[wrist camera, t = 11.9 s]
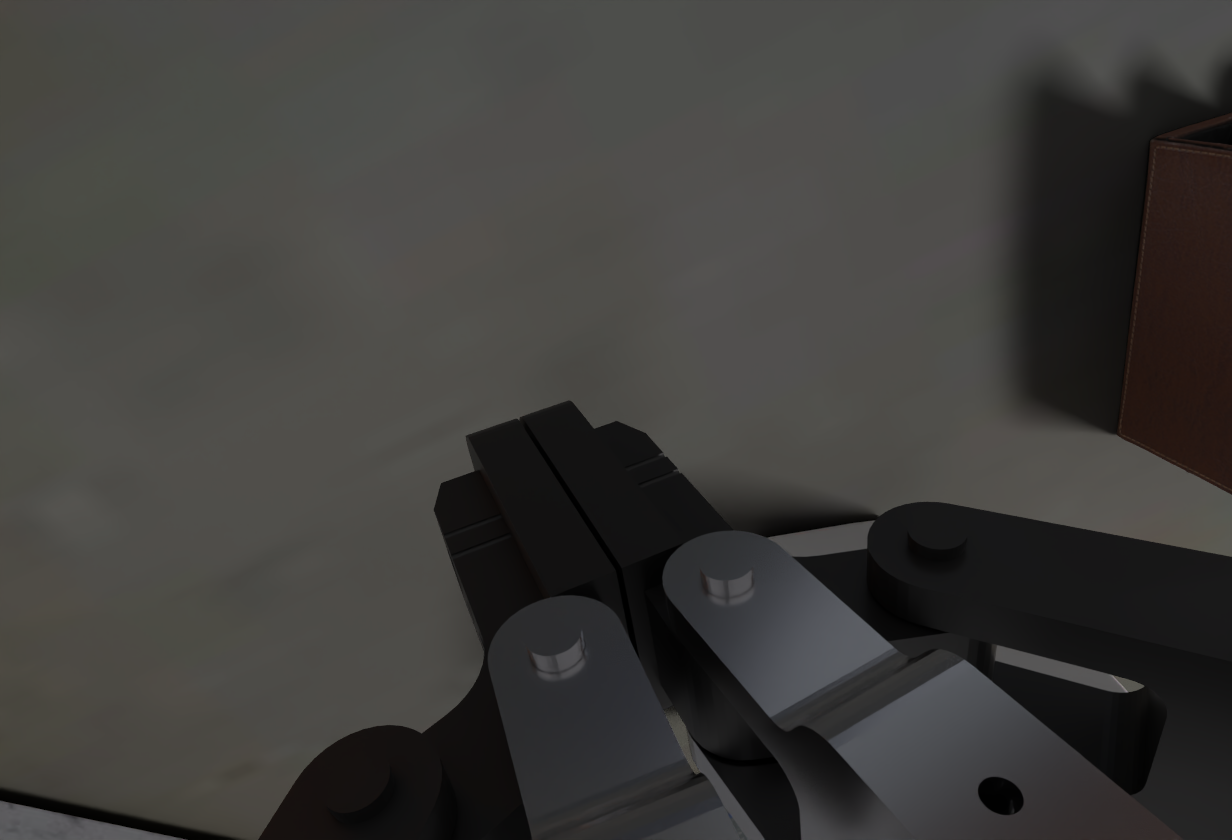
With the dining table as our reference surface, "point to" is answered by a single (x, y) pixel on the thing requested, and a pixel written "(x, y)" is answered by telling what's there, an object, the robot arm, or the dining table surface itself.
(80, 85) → the dining table surface
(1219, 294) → the letter holder
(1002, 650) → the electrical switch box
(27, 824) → the vintage electronic device
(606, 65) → the dining table surface
